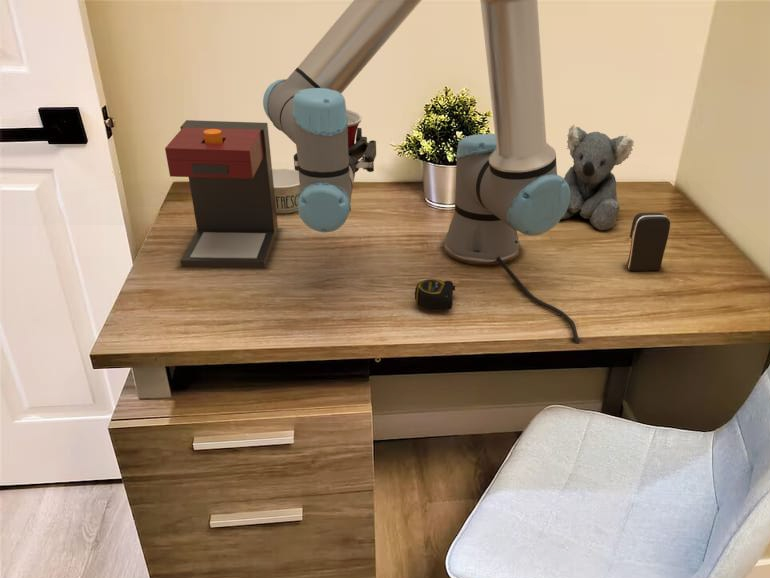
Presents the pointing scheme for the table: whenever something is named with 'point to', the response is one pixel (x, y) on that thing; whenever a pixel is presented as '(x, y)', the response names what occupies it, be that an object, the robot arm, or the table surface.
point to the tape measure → (434, 294)
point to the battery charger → (648, 241)
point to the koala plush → (594, 175)
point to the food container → (286, 189)
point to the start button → (213, 136)
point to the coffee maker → (227, 193)
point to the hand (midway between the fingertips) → (340, 134)
